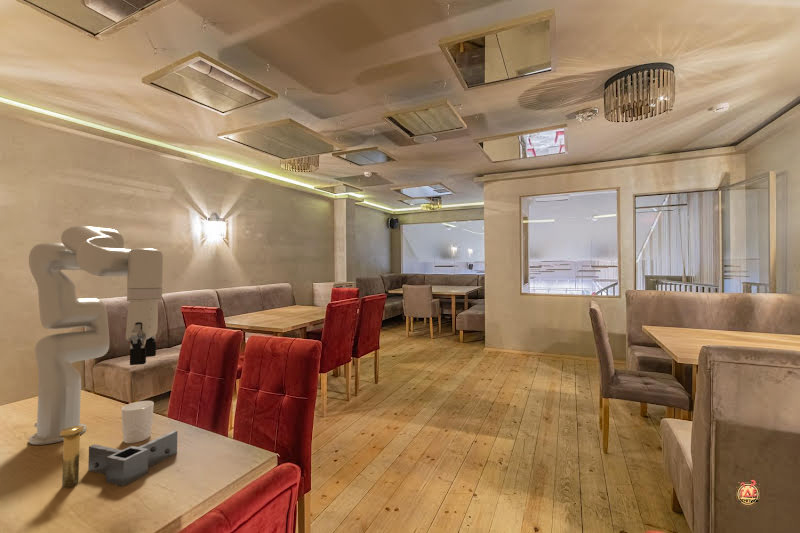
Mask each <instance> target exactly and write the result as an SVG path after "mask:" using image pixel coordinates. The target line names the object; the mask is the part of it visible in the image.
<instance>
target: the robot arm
mask: <svg viewBox="0 0 800 533" xmlns="http://www.w3.org/2000/svg"><path fill="white" fill-rule="evenodd" d="M60 235H61V237H60V240H61V242H43V243H39V244H36V245H34V246H33V247H32V248H31V249H30V251H29V256H28V266H29V270H30V273H31V274H32V277H33V279H34V282H35V284H36V287H37V293H38V294H37V295H38V309H39V319H40V323H41V326H42V327H43V328H44V329H46V330H64V329H73V328H74V329H75V328H85V330H80V331H70V332H62V333H61V332H60V333H55V334H50V335H47V336H43V337H42V338H40V339H39V340H38V341H37V342H36V344H35V346H34V347H35V348H34V353H35V359H36V364H37V370H38V375H37V376H38V386H37V387H38V388H37V389H38V390H37V417H36V418H37V419H36V423H35V424H34V425H33V426H34V428H36V433H34V434H32V435H31V436H30V437H29V439H28V442H29V444H30V445H34V446H35V445H37V446H41V445H49V444H54V443H60V442H64V437H60V431H61V430H63V429H65V428H68V427H72V426H83V432H82V433H80V435H81V434H83V433H85V431H87V425H86V424H84V423H80V422H81V400H82V399H81V396H82V394H81V393H82V374H81V372H80V371H79V370H78V369H77V368H75V367H74V366H73V365H72V363H76V362H81V361H88V360H94V359H97V358H101V357H103V356H105V355H107V353H108V351H109V350H110V342H111V341H110V332H109V331H110V330H109V329H110V328H109V320H108V319H109V317H108V311H107V307H106V304H105V303H104V302H103V301H102V300H101V299H99V298H96V297H84V298H83V297H81V298H79V297H77V291H76V283H75V282H74V281H73V279H71V278H70V276H68V275H67V274H66V273H65V272H63V271H64V270H65V271H85V272H86V273H88V274H91V275H93V276H96V277H125V278H127V279H126V281H127V282H126V302H129V304H128V309H127V315H126V316H127V317H126V330H125V339H126V341H130V345H129V346H130V347H129V365H130V366H137V365H145V364H146V363H147V358H148V357H150V358H151V357H155V356H157V355H156V354H157V341H156V340H157V338H156V337H157V336H156V335H157V333H158V329H159V328H158V327H159V306H158V305H159V304H158V302H159V301H162V300H163V270H164V268H163V263H164V261H163V259H164V254H163V252H162V251H161V250H159V249H155V248H132V249H130V248H124V244H125V241H124V237H123V235H122V234H121V233H120V232H119V231H118V230H116V229H112V228H107V227H106V228H105V227H96V226H87V225H75V226H70V227H68V228H65V229H64V231H62V233H61V234H60ZM62 270H63V271H62Z"/></svg>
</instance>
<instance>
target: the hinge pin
mask: <svg viewBox="0 0 800 533" xmlns="http://www.w3.org/2000/svg"><path fill="white" fill-rule="evenodd" d="M82 432H83V426H72V427H68V428H65V429H63V430H61V431H60V437H64V441H63V447H62V448H63V450H62V476H61V477H62V478H61V479H62V480H61V483H62V484H61V487H62V489H69V488H73V487H74V486H76V485H78V483H79V479H80V478H79V476H80V473H79V472H80V447H81V446H80V444H81V442H80V441H81V438H80V437H81V434H80V433H82ZM83 433H84V432H83ZM83 433H82V434H83Z"/></svg>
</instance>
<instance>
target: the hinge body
mask: <svg viewBox="0 0 800 533" xmlns="http://www.w3.org/2000/svg"><path fill="white" fill-rule="evenodd" d="M177 453H178V430H172V431H171V432H168V433H166V434H164V435H162V436H159V437H157V438H155V439H152V440H151V441H148V442H147V443H144V444H142V445H139V446H134V445H130V446H128V447H126V448H124V449H118V448H113V447H109V446H104V445H99V444H95V443H94V444H93V445H89V446H88V468H87V469H88V471H89V472H94V473H98V474H101V475H105V483H107V484H111V485H114V486H119V487H125V486H127V485H129V484H132V483H133V482H134V481H136V480H139V479H140V478H143V476H146V475H148V474H149V472H148V471H149V468H151V467H153V466H155V465H156V464H159V463H161V462H162V461H164V460H166V459H168V458H170V457H172V456H174V455H176V454H177Z"/></svg>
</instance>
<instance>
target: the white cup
mask: <svg viewBox="0 0 800 533" xmlns="http://www.w3.org/2000/svg"><path fill="white" fill-rule="evenodd" d="M154 406H155V403H154V401H153V400H142V401H141V400H140V401H135V402H131V403H128V404H125V405H124V406H122V407H121V429H122V438H123V439H122V440H123V443H125V444H135V443H139V442H142V441H145V440H148V439H149V438H150V437H151V435H152V426H153V418H154V408H155V407H154Z"/></svg>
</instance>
